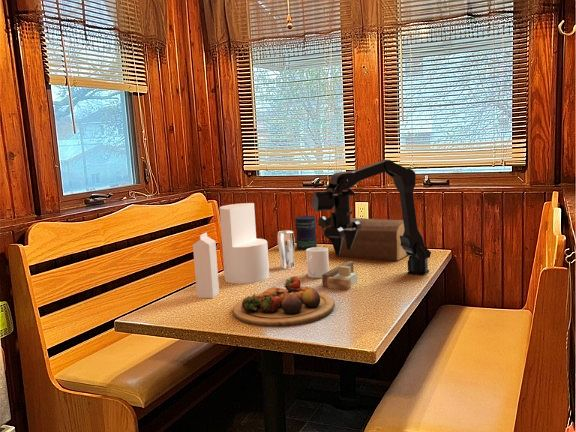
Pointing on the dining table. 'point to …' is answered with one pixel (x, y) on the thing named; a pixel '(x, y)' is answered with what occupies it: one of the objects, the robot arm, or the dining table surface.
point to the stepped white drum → (242, 245)
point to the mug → (317, 261)
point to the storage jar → (305, 232)
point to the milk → (206, 267)
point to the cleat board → (337, 278)
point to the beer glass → (286, 248)
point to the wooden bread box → (376, 240)
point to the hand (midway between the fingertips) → (343, 252)
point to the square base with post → (347, 274)
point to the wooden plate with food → (284, 306)
